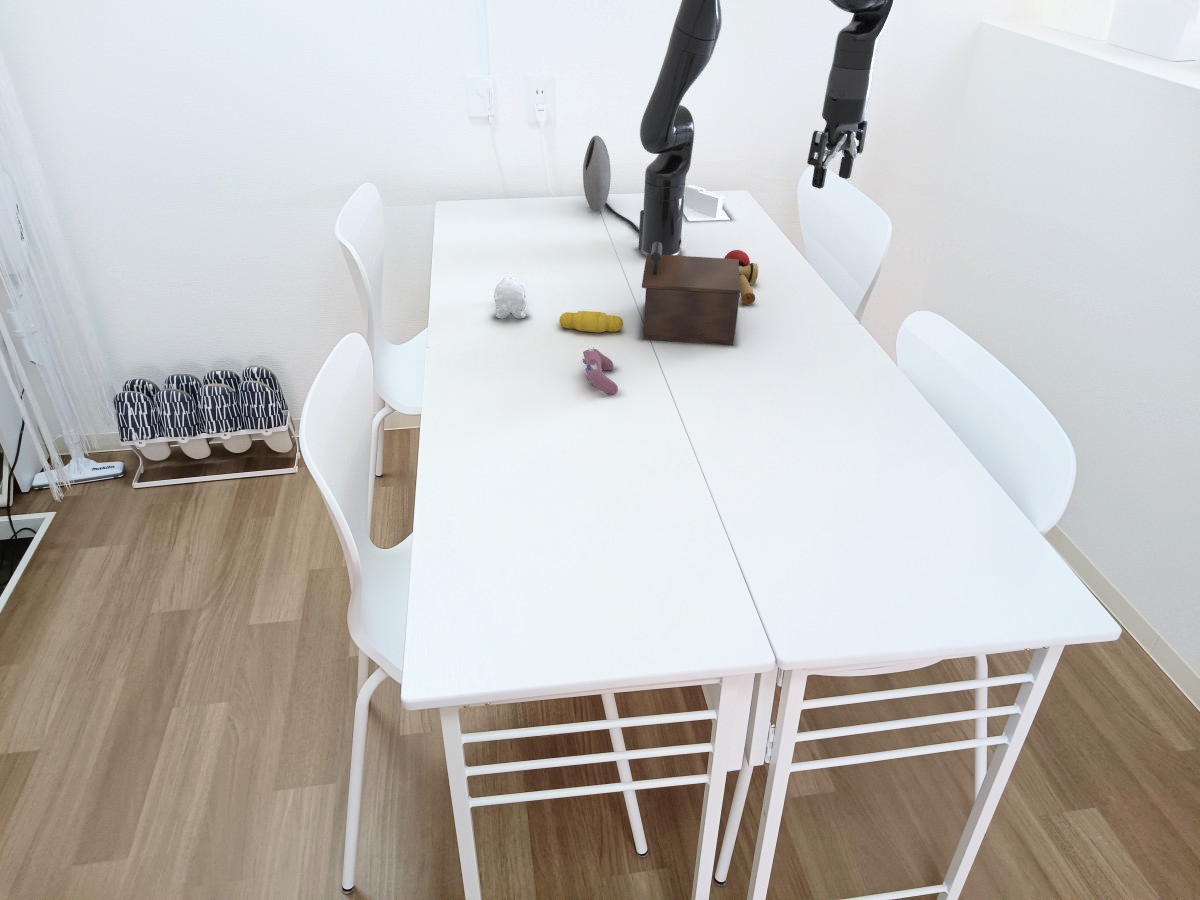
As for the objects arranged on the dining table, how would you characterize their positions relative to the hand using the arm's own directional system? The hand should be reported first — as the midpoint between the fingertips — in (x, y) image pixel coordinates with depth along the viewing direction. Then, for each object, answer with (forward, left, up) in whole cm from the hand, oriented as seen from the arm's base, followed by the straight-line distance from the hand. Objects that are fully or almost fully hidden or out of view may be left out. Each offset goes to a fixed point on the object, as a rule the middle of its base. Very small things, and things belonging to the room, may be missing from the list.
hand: (830, 182), depth 164 cm
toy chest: (-14, -21, -29) cm, 38 cm away
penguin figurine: (-42, -45, -29) cm, 68 cm away
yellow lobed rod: (-25, -38, -29) cm, 54 cm away
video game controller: (-9, -50, -29) cm, 58 cm away
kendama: (-19, +1, -29) cm, 34 cm away
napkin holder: (-57, +30, -29) cm, 70 cm away
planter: (-75, +8, -29) cm, 81 cm away
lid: (-14, -21, -18) cm, 31 cm away
